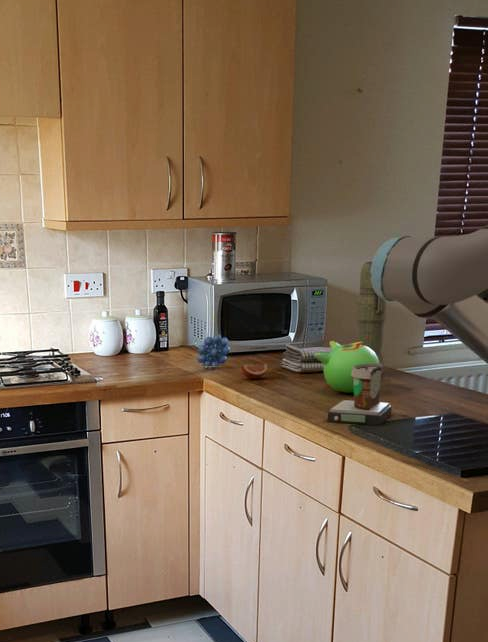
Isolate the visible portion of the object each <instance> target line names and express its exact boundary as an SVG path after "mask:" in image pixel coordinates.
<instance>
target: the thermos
mask: <svg viewBox="0 0 488 642" xmlns="http://www.w3.org/2000/svg"><path fill="white" fill-rule="evenodd" d="M372 262H373V261H366V262H365V263H363V265H362V267H361V270H360V277H359V297H358V300H357V302H356V321H357V337H356V338H357V340H356V343H357V342H363V343H362V344H361V345H364V346H367V347H369V348H370V349H372V350H373V351H374V352H375V354H376V355H377V357H378V360H379V363H381V364H382V369H384V358H385V357H384V353H383V342H384V341H383V339H384V323H385V321H386V312H387V300H385V299H382V298H381V297H379V296H378V295H377V294H376V293H375V291H374V289H373V287H372V283H371V277H372V274H371V266H372ZM382 377H383V372H382V373H381V378H382Z"/></svg>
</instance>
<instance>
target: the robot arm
mask: <svg viewBox="0 0 488 642" xmlns="http://www.w3.org/2000/svg"><path fill="white" fill-rule="evenodd" d="M371 262H372V266H371V274H372V277H371V283H372V287H373V289H374V291H375V293H376V294H377V295H378V296H379V297H381V298H382V299H385V301H386V302H394V301H395V302H397V303H399V304H401V305H402V306H404V308H406V309H407V310H408V311H410V312H411V313H412V314H413V315H415V316H416V317H417V318H422V319H428V318H432V320H434V321H435V322H436V323H437V324H438V325H440V326H441V327H443V329H444V330H446V331H447V332H448V333H449V334H451V335H452V336H453V337H454V338H456V339H457V340H458V341H459V342H460V343H461V344H463V345H465V346H466V347H467V349H469V350H470V351H471V352H472V353H474V354H475V355H476V356H478V358H480V359H481V360H482V361H484V362H485V363H486V364H487V365H488V224H487V225H485V226H483V227H481V228H479V229H477V230H476V231H474V232H470V233H468V234H461V235H455V236H410V235H402V236H397V237H392V238H390V239H388V240H386V241H385V242H384V243H382V245H380V247H379V248H378V249H377V251H376V253H375V255H374V257H373V260H372V261H371Z"/></svg>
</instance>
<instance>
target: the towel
mask: <svg viewBox="0 0 488 642" xmlns="http://www.w3.org/2000/svg"><path fill="white" fill-rule="evenodd" d="M283 348H284V349H285V351H284V352H283V353H282V354H283V356H284V357H283V358H282V359H281V360H282V362H281V363H280V367H281V368H283V369H287V370H289V371H291V372H295V373H300V374H301V373H302V374H303V373H305V374H306V373H319V372H324V370H323V369H324V363H323V362H321V361H320V360H318V359H317V358H316V357H315V356H314V355H315V354H316V353H330V352H331V351H332V350H331V347H325V346H312V347H301V348H299V347H296V346H294V345H291V344H288V343H285V345H284V346H283ZM281 364H284V365H281ZM285 365H288V366H285Z"/></svg>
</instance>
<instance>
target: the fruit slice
mask: <svg viewBox="0 0 488 642" xmlns="http://www.w3.org/2000/svg"><path fill="white" fill-rule="evenodd" d="M268 369H269V367H268V363H267V362H264V363H258V364H256V363H244V364H242V365H241V372H242V374H243V376H245V377H246V378H248V379H250V380H258V379H260V378H262V377H263V376H264V375H265V374H266V373H267V371H268Z"/></svg>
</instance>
